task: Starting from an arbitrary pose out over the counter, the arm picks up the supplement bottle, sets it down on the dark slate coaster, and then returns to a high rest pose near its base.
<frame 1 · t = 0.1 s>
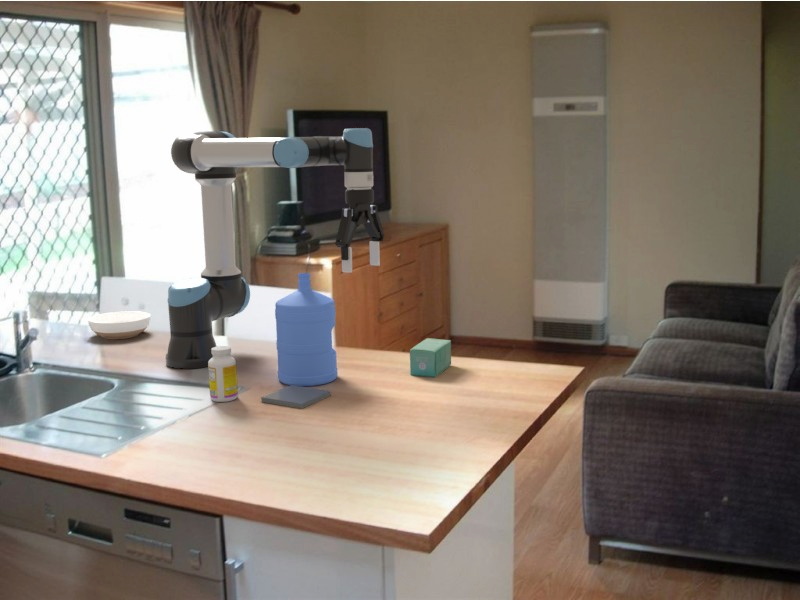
hand: (361, 268, 240), 28 cm above the kitchen counter, fingers open, 13 cm apart
bowl: (120, 336, 296), on the kitchen counter
box: (430, 371, 245), on the kitchen counter
water jug: (308, 379, 238), on the kitchen counter
supplement bottle: (224, 399, 222), on the kitchen counter
coaster: (296, 398, 221), on the kitchen counter
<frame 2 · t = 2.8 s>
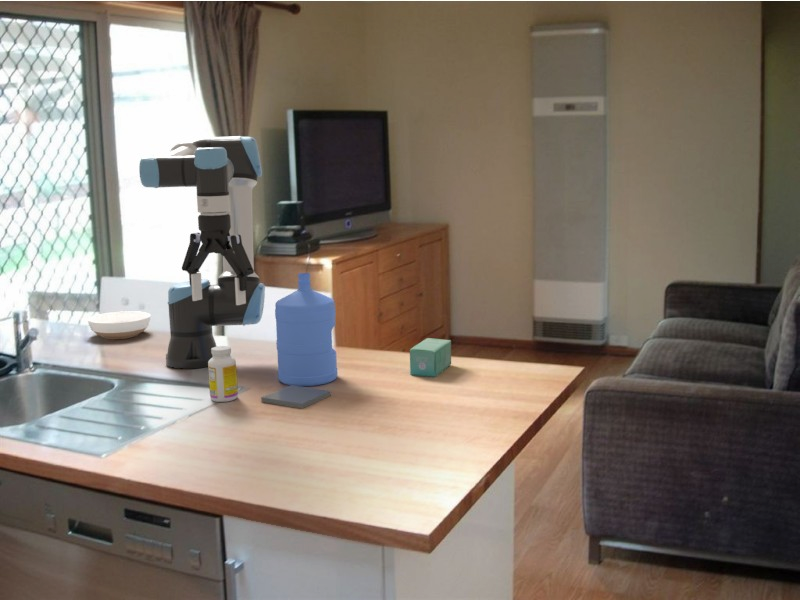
hand: (218, 302, 217), 24 cm above the kitchen counter, fingers open, 13 cm apart
nothing on the kitchen counter moved.
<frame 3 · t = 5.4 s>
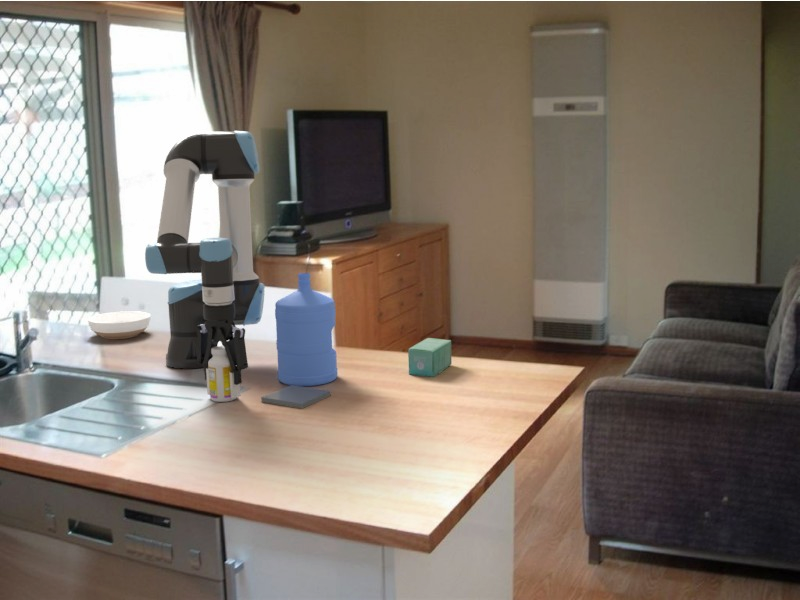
hand: (223, 394, 222), 1 cm above the kitchen counter, fingers closed on supplement bottle, 7 cm apart
supplement bottle: (224, 399, 222), on the kitchen counter, touching gripper
everything else where it was.
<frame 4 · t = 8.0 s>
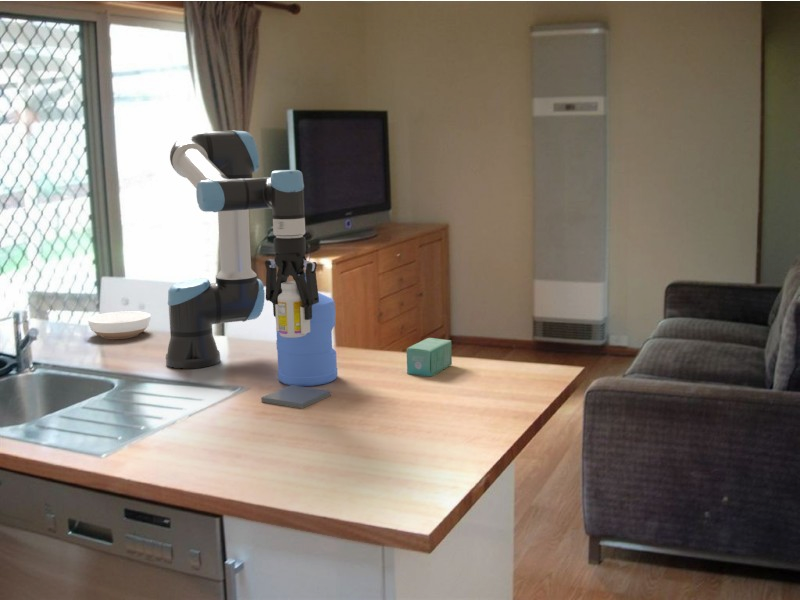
hand: (293, 331, 218), 17 cm above the kitchen counter, fingers closed on supplement bottle, 7 cm apart
supplement bottle: (293, 336, 218), point 16 cm above the kitchen counter, touching gripper
everything else where it was.
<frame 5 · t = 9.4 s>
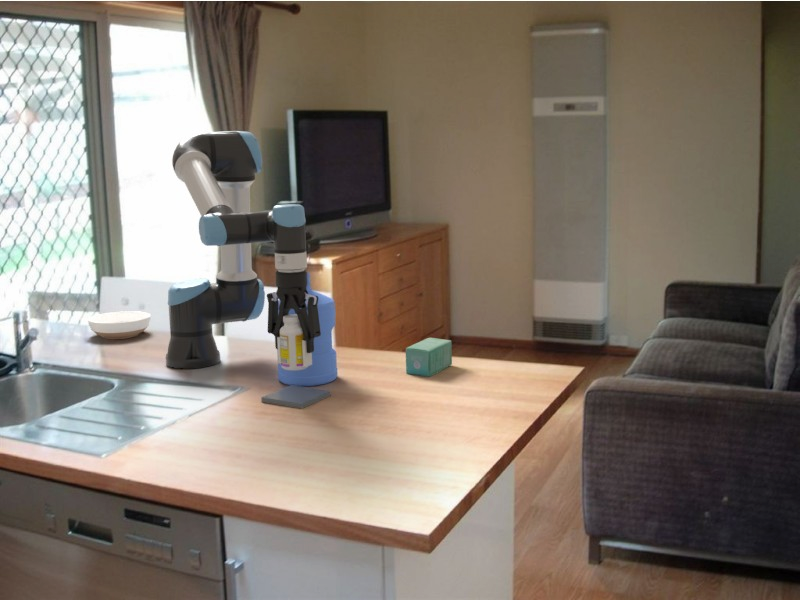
hand: (295, 363, 219), 9 cm above the kitchen counter, fingers closed on supplement bottle, 7 cm apart
supplement bottle: (295, 368, 219), point 8 cm above the kitchen counter, touching gripper
everything else where it was.
when the fingers open (4 cm above the kitchen counter, at t = 10.7 s): supplement bottle drops 1 cm, resting on coaster.
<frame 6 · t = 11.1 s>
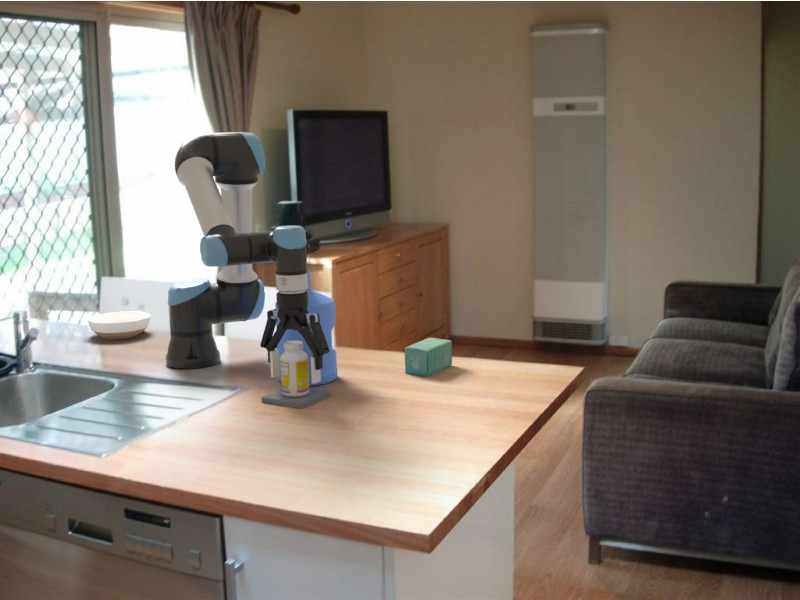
hand: (295, 379, 220), 5 cm above the kitchen counter, fingers open, 11 cm apart
supplement bottle: (295, 394, 221), point 1 cm above the kitchen counter, touching coaster
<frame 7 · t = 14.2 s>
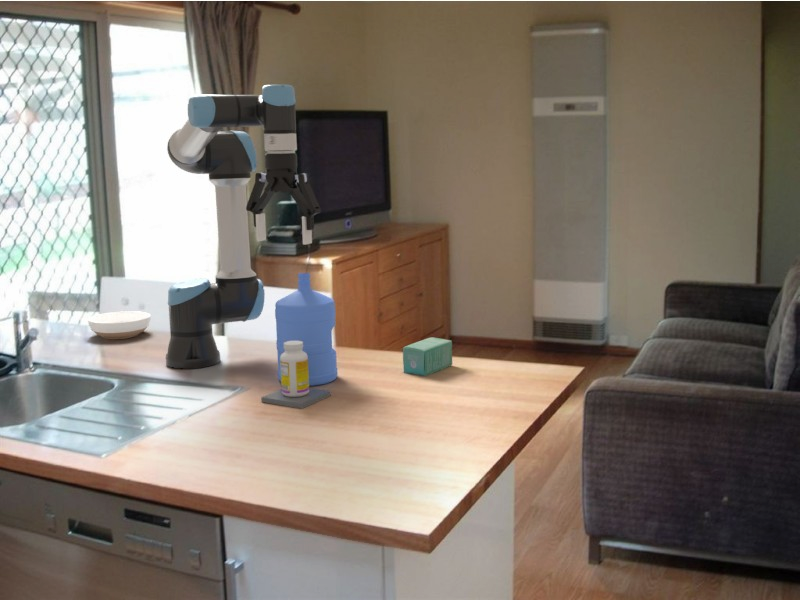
hand: (284, 242, 216), 38 cm above the kitchen counter, fingers open, 13 cm apart
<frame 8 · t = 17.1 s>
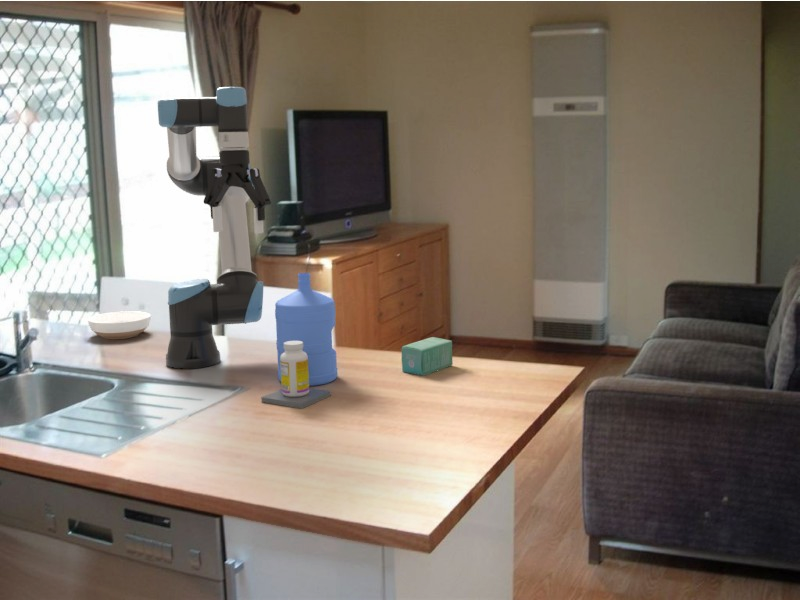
hand: (238, 232, 234), 39 cm above the kitchen counter, fingers open, 13 cm apart
at the end: supplement bottle inside the target area on the coaster (0.2 cm from its centre), point 1.0 cm above the coaster's base; supplement bottle tilted 0°; the gripper is holding nothing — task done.
